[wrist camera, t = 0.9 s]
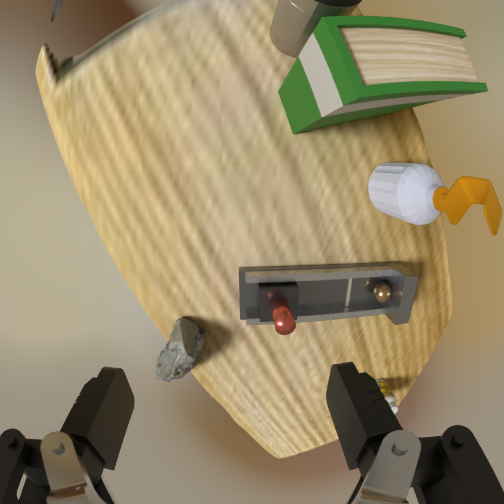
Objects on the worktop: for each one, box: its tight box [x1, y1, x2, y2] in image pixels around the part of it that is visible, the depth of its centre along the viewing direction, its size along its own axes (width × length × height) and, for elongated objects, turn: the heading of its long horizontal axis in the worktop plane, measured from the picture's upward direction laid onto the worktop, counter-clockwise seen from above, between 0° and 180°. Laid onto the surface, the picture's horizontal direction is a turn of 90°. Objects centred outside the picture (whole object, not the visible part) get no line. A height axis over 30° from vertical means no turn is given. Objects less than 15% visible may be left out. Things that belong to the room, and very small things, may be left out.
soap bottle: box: [368, 163, 502, 235], centre depth 31 cm, size 9×9×25 cm
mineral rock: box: [156, 318, 205, 382], centre depth 44 cm, size 13×11×10 cm
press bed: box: [239, 261, 419, 325], centre depth 44 cm, size 9×30×8 cm, turn 91°
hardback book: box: [278, 16, 488, 134], centre depth 26 cm, size 18×7×24 cm, turn 108°
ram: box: [258, 281, 299, 335], centre depth 40 cm, size 6×6×10 cm
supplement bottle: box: [376, 379, 398, 414], centre depth 52 cm, size 5×5×10 cm
